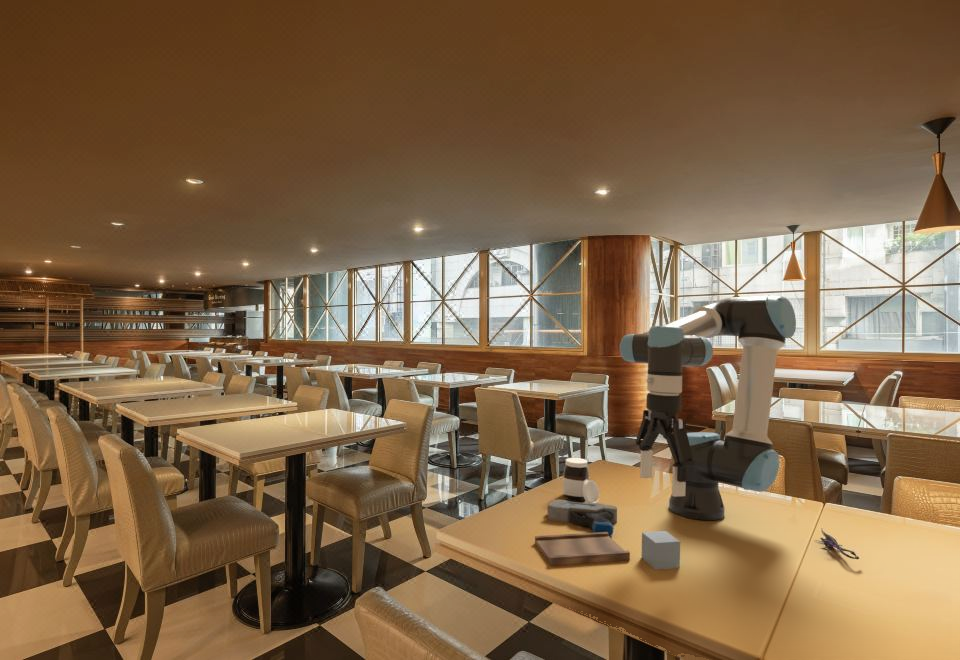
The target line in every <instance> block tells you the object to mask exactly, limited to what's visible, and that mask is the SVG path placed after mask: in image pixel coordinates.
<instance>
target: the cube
mask: <svg viewBox="0 0 960 660" xmlns="http://www.w3.org/2000/svg"><path fill="white" fill-rule="evenodd" d="M641 557H642V558H643V559H642V558H641V559H642V560H644V562H646V563H647V564H648V565H649V566H650V567H652V569H654V570H656V571H657V570H668V569H670V568H671V569H679V568H680V566H681V562H680V561H681V541H680V540H679V539H677V538H676V537H675V536H673V535H672V534H670V533H669V532H668V531H666V530H657V531H656V530H655V531H643V532H641Z"/></svg>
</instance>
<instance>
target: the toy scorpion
mask: <svg viewBox="0 0 960 660" xmlns="http://www.w3.org/2000/svg"><path fill="white" fill-rule="evenodd" d="M821 533H822V535H823V536H824V537H825V538H823V537H820V539H821V540H817V539H816V540H815V539H814V542H820V543H823V544H825V546H824V547H820V549H822V550H823V549H826V548H829V547H832V548H835V549H836V550H837V553H838V556H840V557H841V556H842V555H843V556H845V557H847V558H849V559H852V560H853V559H854V560H860V557H859V556H858V555H857V554H856V553H855V551H854V550H849V549H846V548H843V545H842V544H839V543H838V542H837V539H836V538H834V537H833V536H832V535H829V534H827V533H826V532H825V531H823V529H821ZM845 552H848V553H849V554H847V553H845ZM841 554H842V555H841ZM850 554H851V555H853V556H851V555H850Z"/></svg>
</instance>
